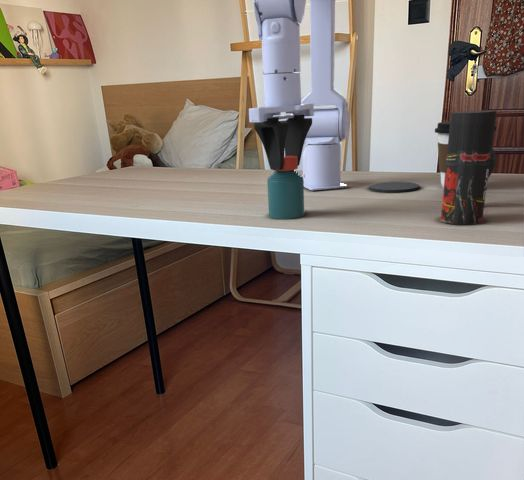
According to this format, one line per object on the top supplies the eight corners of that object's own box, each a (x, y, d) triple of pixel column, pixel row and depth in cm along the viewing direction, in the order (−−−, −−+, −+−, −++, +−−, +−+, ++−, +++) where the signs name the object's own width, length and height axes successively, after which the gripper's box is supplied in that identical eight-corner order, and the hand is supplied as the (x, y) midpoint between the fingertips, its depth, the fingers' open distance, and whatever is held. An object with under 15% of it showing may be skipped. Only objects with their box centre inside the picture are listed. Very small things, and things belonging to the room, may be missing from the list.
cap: (285, 171, 84) (285, 159, 83) (266, 170, 86) (266, 158, 85) (303, 167, 86) (302, 156, 85) (283, 166, 89) (283, 155, 88)
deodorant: (485, 224, 76) (500, 111, 70) (442, 225, 78) (453, 113, 71) (478, 215, 82) (492, 109, 75) (438, 216, 83) (448, 111, 76)
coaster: (361, 186, 111) (361, 184, 111) (404, 182, 113) (405, 180, 113) (381, 194, 102) (381, 191, 102) (428, 189, 104) (428, 187, 104)
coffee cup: (445, 181, 111) (451, 120, 106) (497, 185, 104) (506, 119, 99) (419, 189, 104) (424, 124, 99) (473, 194, 97) (481, 124, 92)
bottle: (264, 214, 91) (261, 160, 87) (296, 210, 93) (294, 157, 89) (276, 220, 86) (273, 164, 82) (309, 216, 88) (309, 160, 84)
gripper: (274, 72, 73) (278, 174, 79) (329, 71, 83) (329, 162, 89) (235, 75, 77) (242, 173, 83) (292, 74, 87) (295, 161, 93)
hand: (284, 167), depth 86 cm, fingers closed on cap, 4 cm apart
